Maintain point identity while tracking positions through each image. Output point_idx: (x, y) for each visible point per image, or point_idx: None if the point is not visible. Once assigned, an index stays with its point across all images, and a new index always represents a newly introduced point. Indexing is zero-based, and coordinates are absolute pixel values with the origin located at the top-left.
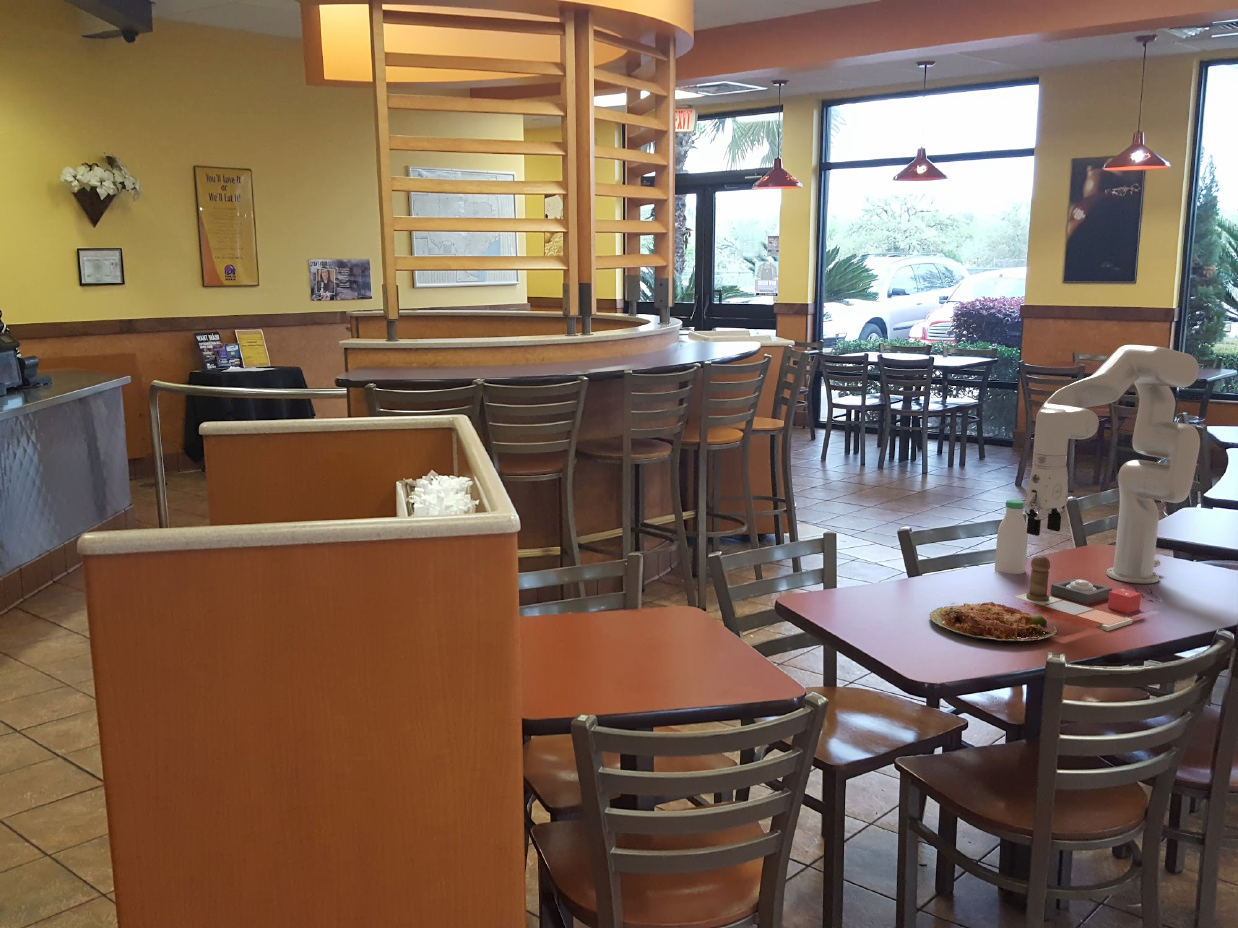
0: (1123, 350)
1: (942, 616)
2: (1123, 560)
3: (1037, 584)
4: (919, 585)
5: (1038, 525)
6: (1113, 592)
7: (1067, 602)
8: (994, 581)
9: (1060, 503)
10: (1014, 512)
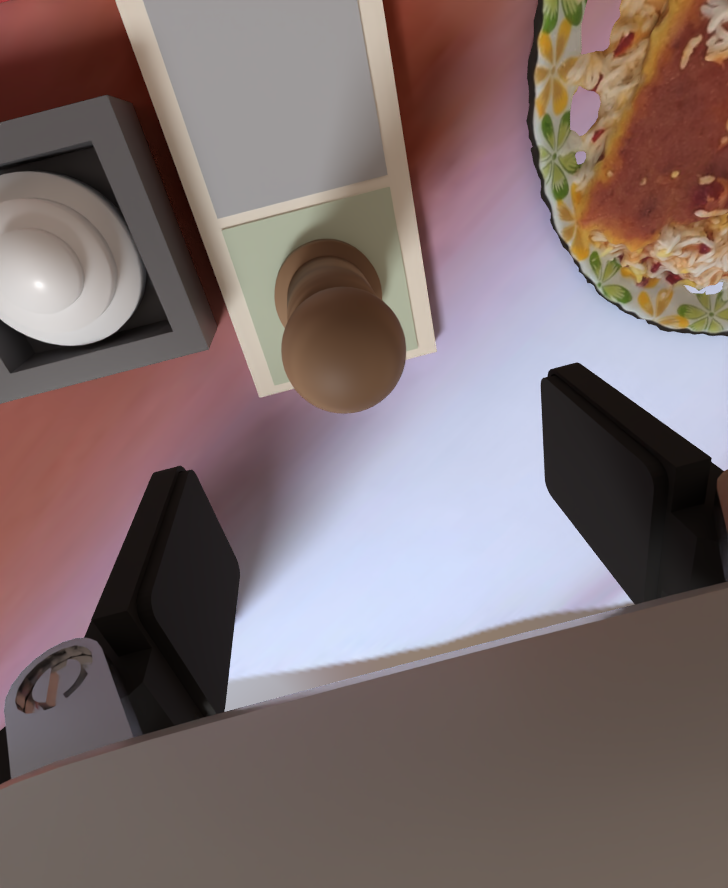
0: None
1: None
2: None
3: (370, 286)
4: (576, 569)
5: (649, 421)
6: None
7: (222, 178)
8: (300, 557)
9: (226, 825)
10: None
